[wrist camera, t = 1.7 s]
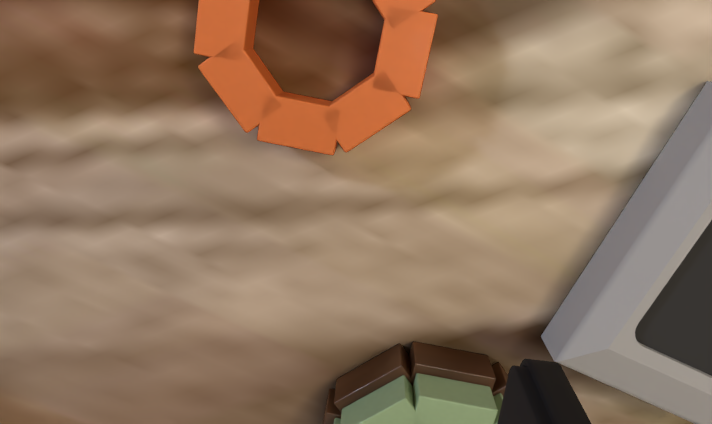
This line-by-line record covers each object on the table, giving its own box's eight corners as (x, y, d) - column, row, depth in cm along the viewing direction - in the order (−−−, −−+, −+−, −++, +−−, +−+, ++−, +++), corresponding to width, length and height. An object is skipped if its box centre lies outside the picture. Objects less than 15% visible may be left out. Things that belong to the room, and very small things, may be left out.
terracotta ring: (198, 120, 28) (186, 126, 26) (223, -110, 25) (210, -121, 23) (401, 160, 28) (403, 169, 26) (451, -62, 25) (457, -70, 23)
